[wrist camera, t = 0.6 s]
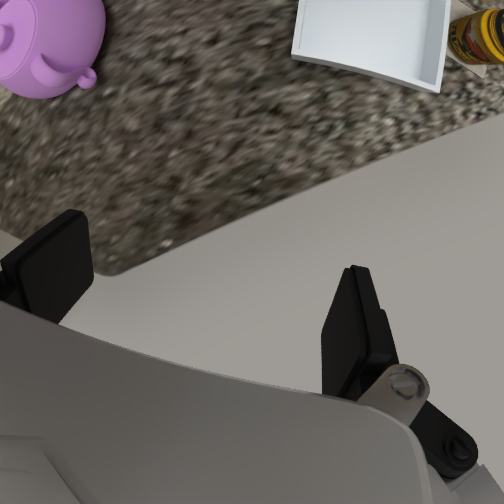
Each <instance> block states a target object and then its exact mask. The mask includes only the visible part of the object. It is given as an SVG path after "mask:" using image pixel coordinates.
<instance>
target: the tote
mask: <svg viewBox="0 0 504 504" xmlns="http://www.w3.org/2000/svg"><path fill="white" fill-rule="evenodd" d="M450 6H451V0H299V5H298V12H297V19H296V25H295V32H294V38H293V45H292V51H291V56H292V59H293V60H299V61H305V62H311V63H316V64H321V65H326V66H331V67H335V68H340V69H344V70H348V71H352V72H357V73H360V74H364V75H368V76H372V77H375V78H379V79H383V80H386V81H389V82H393V83H396V84H399V85H402V86H405V87H408V88H411V89H414V90H417V91H420V92H431V93H439V92H440V86H441V81H442V75H443V68H444V62H445V54H446V47H447V39H448V29H449V19H450Z"/></svg>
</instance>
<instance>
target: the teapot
mask: <svg viewBox="0 0 504 504" xmlns="http://www.w3.org/2000/svg"><path fill="white" fill-rule="evenodd" d="M105 23H106V17H105V9H104V5H103V2H102V0H10V1H9V0H0V83H1V84H2V85H3V86H4V87H6V88H7V89H8V90H10V91H12V92H14V93H16V94H18V95H21V96H24V97H28V98H38V99H44V98H52V97H56V96H59V95H61V94H63V93H65V92H66V91H68V90H69V89H71V88H72V87H73V86H74V85H76V84H78V85H79V86H80V87H81V88H83V89H89V88H91V87H92V86H94V85H95V83H96V80H97V76H96V73H95V71H94V70H93V69H92V68H90V67H91V66H92V64H93V62H94V60H95V59H96V57H97V55H98V52H99V50H100V47H101V44H102V41H103V37H104V33H105Z"/></svg>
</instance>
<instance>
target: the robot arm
mask: <svg viewBox="0 0 504 504" xmlns="http://www.w3.org/2000/svg"><path fill="white" fill-rule="evenodd" d="M0 263H1V267H2V271H0V504H504V493H503V492H502V490H501V488H500V487H499V485H498V484H497V483H496V481H495V480H494V478H493V477H492V475H491V474H490V473H489V471H488V470H487V468H486V467H485V466H484V464H482V465H481V466H479V465H478V464H477V462H476V461H477V459H478V448H477V444H476V443H475V441H474V439H473V438H472V437H471V436H470V435H469V434H468V433H467V432H466V431H464V430H463V429H462V428H461V427H459V426H458V425H457V424H456V423H454V422H453V421H452V420H451V419H450V418H448V417H447V416H446V415H445V414H443V413H442V412H441V411H440V410H438V409H437V408H436V407H435V406H433V405H432V404H431V403H430V402H429V401H427V398H428V395H429V393H430V388H429V384H428V381H427V379H426V378H425V377H424V375H423V374H422V373H421V372H420V371H419V370H417V369H415V368H414V367H412V366H409V365H405V364H399V360H398V356H397V352H396V348H395V344H394V341H393V337H392V333H391V329H390V326H389V322H388V318H387V315H386V312H385V310H383V309H380V305H379V302H378V298H377V295H376V291H375V288H374V285H373V282H372V278H371V275H370V271H369V269H368V268H366V267H361V266H356V265H351V267H350V269H349V268H345V269H344V272H343V274H342V277H341V280H340V282H339V285H338V288H337V291H336V294H335V296H334V299H333V302H332V305H331V307H330V310H329V313H328V315H327V318H326V321H325V323H324V326H323V329H322V334H321V350H322V351H321V352H322V394H318V393H312V392H307V391H302V390H296V389H291V388H286V387H280V386H275V385H269V384H264V383H259V382H255V381H250V380H245V379H240V378H235V377H231V376H227V375H222V374H218V373H213V372H209V371H205V370H201V369H197V368H193V367H189V366H185V365H182V364H178V363H174V362H171V361H167V360H163V359H160V358H157V357H153V356H150V355H146V354H143V353H140V352H136V351H133V350H129V349H127V348H124V347H121V346H117V345H114V344H111V343H108V342H105V341H102V340H99V339H97V338H94V337H91V336H88V335H85V334H83V333H80V332H77V331H74V330H71V329H69V328H66V327H64V326H61V325H58V324H59V322H60V321H61V320H62V319H63V317H64V316H65V315H66V314H67V313H68V311H69V310H70V309H71V308H72V307H73V306H74V304H75V303H76V302H77V301H78V300H79V298H80V297H81V296H82V295H83V294H84V293H85V291H86V290H87V289H88V288H89V287H90V286H91V284H92V282H93V280H94V273H93V266H92V258H91V249H90V240H89V230H88V219H87V217H86V216H85V214H84V212H82V211H79V210H73V209H68V210H66V211H65V212H64V213H62V214H61V215H59V216H58V217H56V218H55V219H54V220H52V221H51V222H49V223H48V224H47V225H45V226H44V227H42V228H41V229H40V230H38V231H37V232H36V233H34V234H33V235H32V236H30V237H29V238H28V239H26V240H25V241H24V242H22V243H21V244H20V245H19V246H17V247H16V248H15V249H14V250H12V251H11V252H10V253H9V254H7V255H6V256H5V257H4V258H2V259H1V260H0Z"/></svg>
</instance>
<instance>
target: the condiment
mask: <svg viewBox="0 0 504 504" xmlns="http://www.w3.org/2000/svg"><path fill="white" fill-rule="evenodd" d="M445 55H447V56H449V57H450V58H452V59H454V60H455V61H457V62H458V63H460V64H461V65H463V66H465V67H466V68H468V69H469V70H471V71H472V72H474V73H475V74H477V75H478V76H480V77H481V78H483V79H484V76H485V72H486V69H487V66H488V65H493V64H500V65H501V64H503V65H504V9H486V10H484V11H480V12H477V13H476V12H475V11H473V10H471V9H470V8H469V7H467V6H466V5H464V4H463V3H461V2H459V1H458V0H451V6H450V19H449V29H448V39H447V47H446V54H445Z"/></svg>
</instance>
